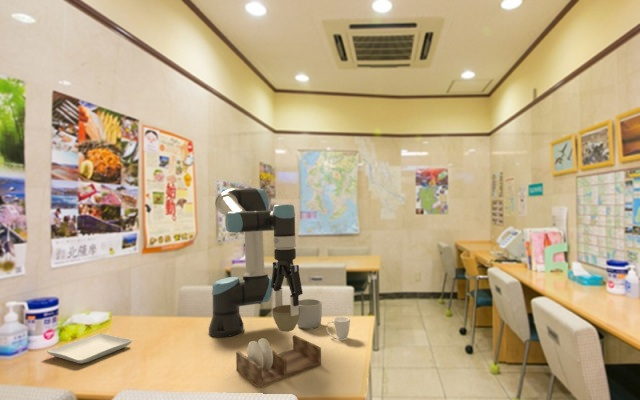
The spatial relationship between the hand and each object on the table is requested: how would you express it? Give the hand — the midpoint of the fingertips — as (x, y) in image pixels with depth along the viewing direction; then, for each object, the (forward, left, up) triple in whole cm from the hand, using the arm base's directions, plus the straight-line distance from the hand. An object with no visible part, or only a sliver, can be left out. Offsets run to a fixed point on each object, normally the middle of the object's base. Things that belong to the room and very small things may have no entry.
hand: (286, 311), depth 124 cm
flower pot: (0, 0, -6) cm, 6 cm away
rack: (0, -4, -18) cm, 18 cm away
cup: (-7, +29, -18) cm, 35 cm away
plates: (0, -11, -17) cm, 20 cm away
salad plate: (-60, -53, -19) cm, 82 cm away
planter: (-28, +29, -18) cm, 44 cm away
